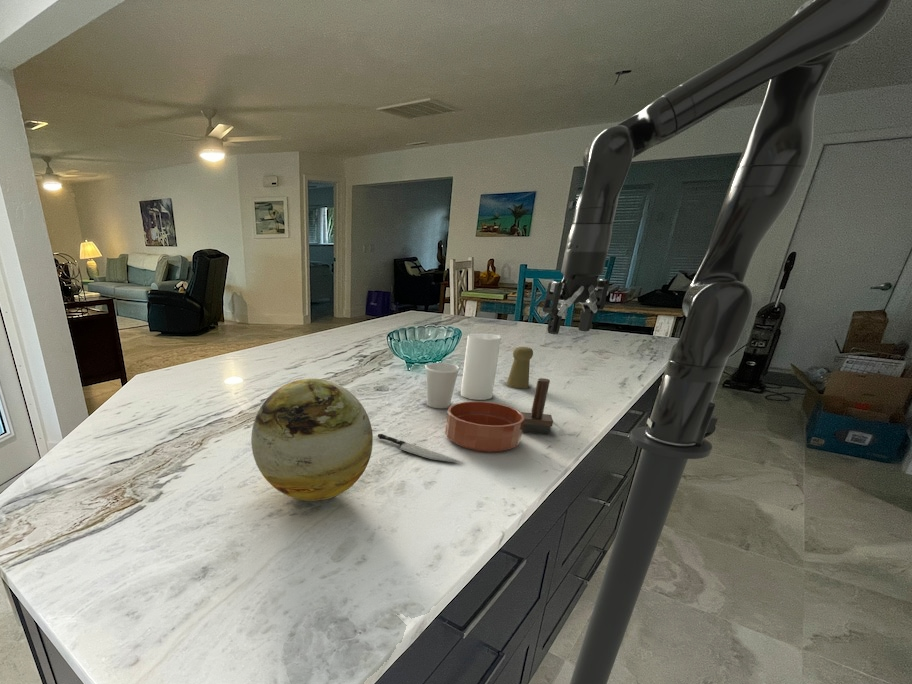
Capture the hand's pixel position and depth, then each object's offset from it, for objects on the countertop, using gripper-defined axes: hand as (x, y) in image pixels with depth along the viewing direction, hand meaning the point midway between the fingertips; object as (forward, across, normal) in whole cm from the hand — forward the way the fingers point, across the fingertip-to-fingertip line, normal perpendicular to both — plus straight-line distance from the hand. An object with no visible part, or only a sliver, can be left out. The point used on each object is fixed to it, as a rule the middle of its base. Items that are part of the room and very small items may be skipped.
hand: (568, 332), depth 99 cm
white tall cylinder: (+21, -2, +24) cm, 32 cm away
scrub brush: (+21, -6, -1) cm, 22 cm away
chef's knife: (+21, -37, -2) cm, 43 cm away
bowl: (+21, -20, -1) cm, 29 cm away
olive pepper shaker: (+21, +15, +27) cm, 37 cm away
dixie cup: (+21, -16, +21) cm, 34 cm away
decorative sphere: (+21, -62, -10) cm, 66 cm away
